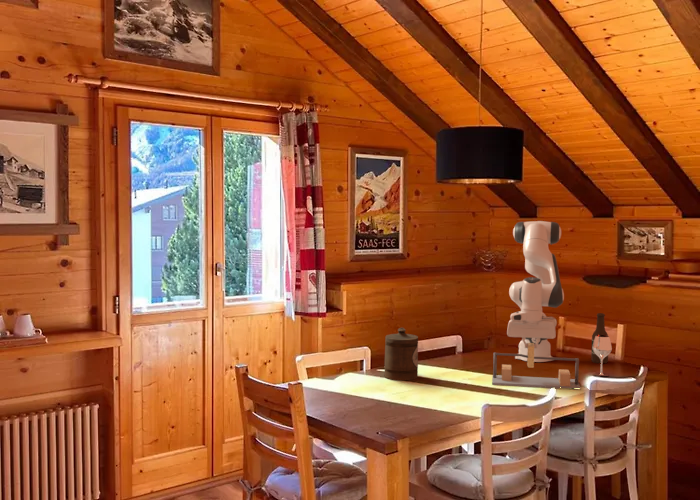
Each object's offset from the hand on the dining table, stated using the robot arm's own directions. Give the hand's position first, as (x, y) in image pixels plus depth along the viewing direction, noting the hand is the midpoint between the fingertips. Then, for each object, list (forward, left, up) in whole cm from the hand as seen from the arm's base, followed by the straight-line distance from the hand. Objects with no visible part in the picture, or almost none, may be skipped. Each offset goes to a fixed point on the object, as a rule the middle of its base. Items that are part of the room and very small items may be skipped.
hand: (530, 347), depth 304 cm
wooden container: (-1, -56, -16) cm, 58 cm away
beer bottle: (-52, +35, -16) cm, 65 cm away
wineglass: (-23, +32, -16) cm, 43 cm away
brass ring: (0, 0, -8) cm, 8 cm away
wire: (-2, +2, -5) cm, 5 cm away
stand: (-2, +2, -16) cm, 16 cm away
